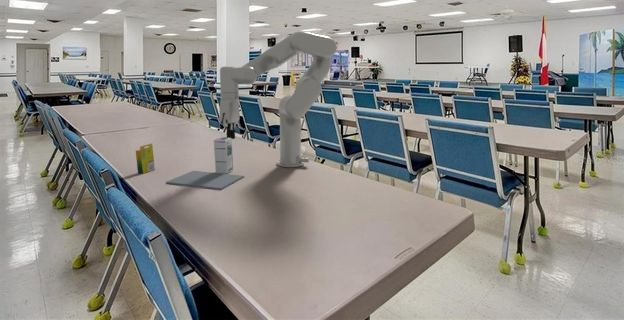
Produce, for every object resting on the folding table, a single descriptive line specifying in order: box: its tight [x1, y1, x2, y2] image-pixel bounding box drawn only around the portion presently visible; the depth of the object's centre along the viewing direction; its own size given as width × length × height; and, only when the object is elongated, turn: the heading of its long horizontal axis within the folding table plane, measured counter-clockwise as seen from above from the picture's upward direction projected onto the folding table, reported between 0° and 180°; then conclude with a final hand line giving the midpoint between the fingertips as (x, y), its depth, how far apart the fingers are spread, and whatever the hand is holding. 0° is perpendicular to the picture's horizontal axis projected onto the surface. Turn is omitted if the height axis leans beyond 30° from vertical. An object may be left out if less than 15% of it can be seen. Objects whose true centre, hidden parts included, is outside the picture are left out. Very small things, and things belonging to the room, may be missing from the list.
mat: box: [165, 170, 245, 191], centre depth 158 cm, size 24×18×1 cm
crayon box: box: [135, 143, 156, 175], centre depth 169 cm, size 7×3×12 cm, turn 160°
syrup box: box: [213, 136, 234, 174], centre depth 169 cm, size 6×6×14 cm
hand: (230, 138), depth 175 cm, fingers closed
